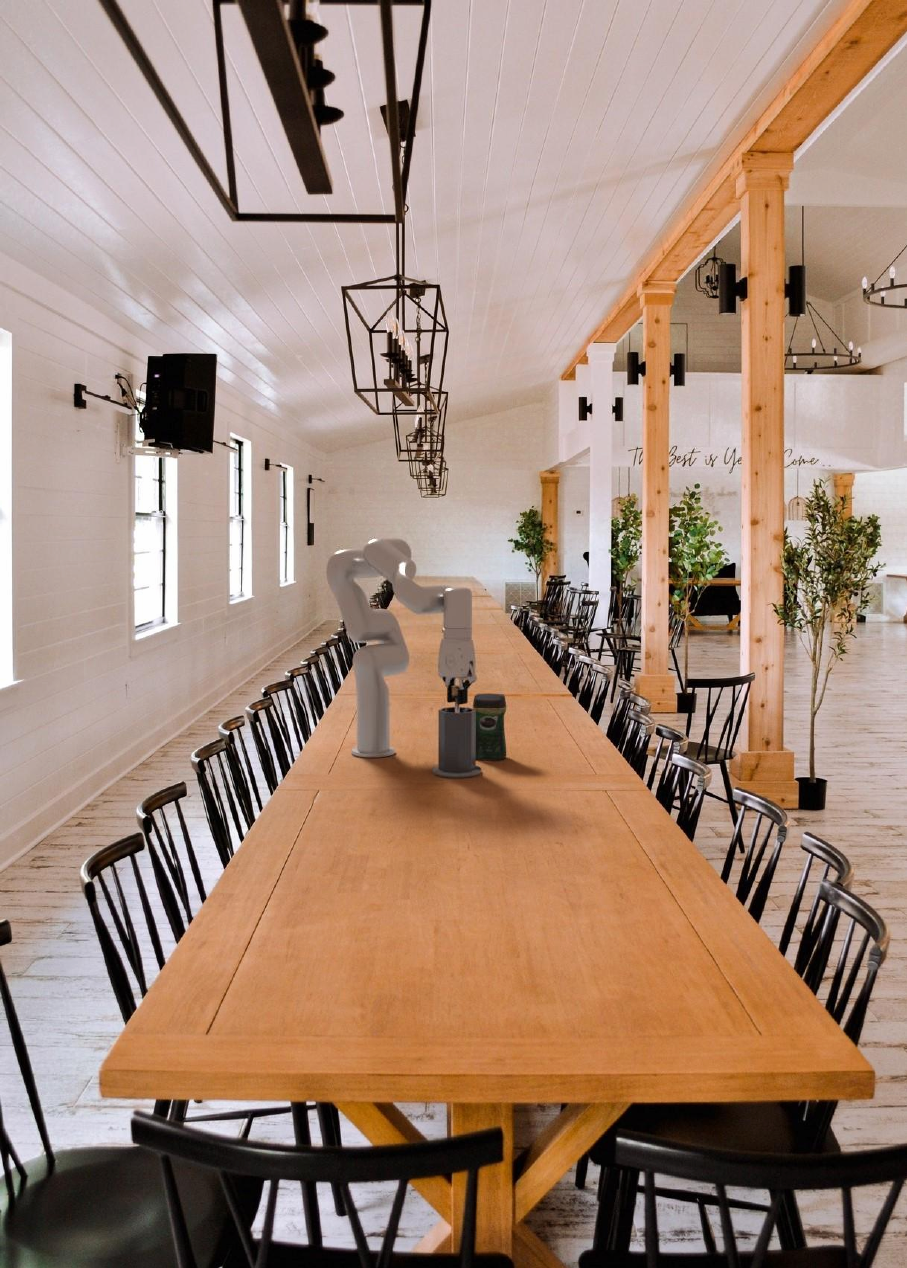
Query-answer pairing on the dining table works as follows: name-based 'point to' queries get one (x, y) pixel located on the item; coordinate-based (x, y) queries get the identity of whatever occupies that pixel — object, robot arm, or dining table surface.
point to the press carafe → (457, 744)
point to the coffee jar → (490, 726)
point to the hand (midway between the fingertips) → (457, 702)
